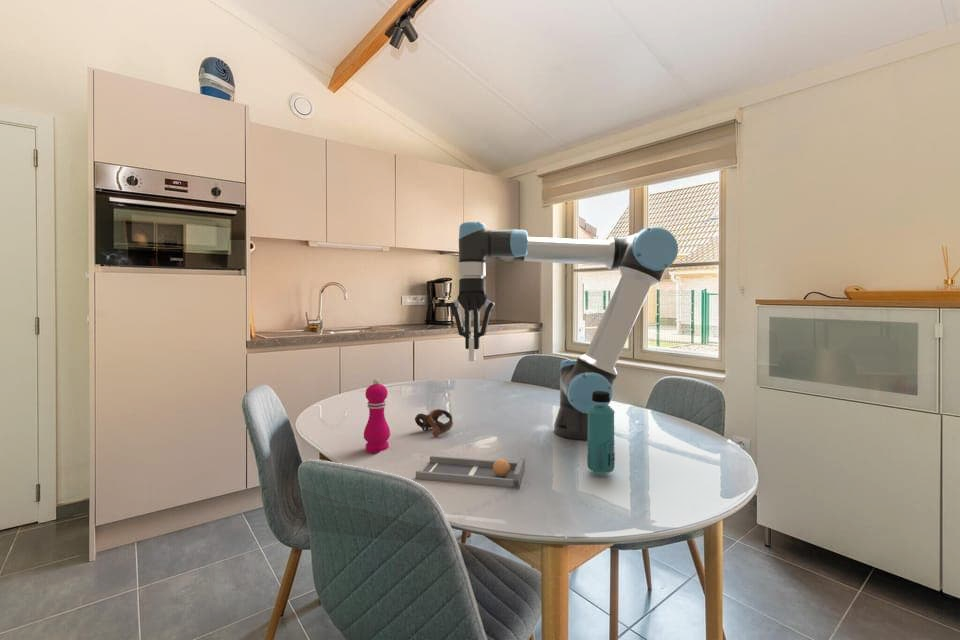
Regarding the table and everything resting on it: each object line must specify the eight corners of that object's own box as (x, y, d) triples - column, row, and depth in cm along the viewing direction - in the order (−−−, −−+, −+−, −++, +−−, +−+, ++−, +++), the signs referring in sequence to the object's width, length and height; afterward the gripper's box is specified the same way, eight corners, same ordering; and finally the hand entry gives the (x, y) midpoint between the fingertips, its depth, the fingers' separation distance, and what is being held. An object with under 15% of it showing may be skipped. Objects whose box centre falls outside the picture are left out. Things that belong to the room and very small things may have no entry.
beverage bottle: (610, 482, 103) (611, 395, 102) (582, 475, 107) (583, 392, 106) (617, 472, 109) (619, 390, 108) (591, 467, 112) (592, 387, 111)
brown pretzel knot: (449, 428, 148) (456, 409, 144) (447, 449, 139) (453, 430, 135) (414, 420, 146) (419, 401, 142) (409, 441, 138) (414, 421, 134)
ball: (508, 475, 107) (513, 459, 106) (505, 482, 103) (511, 466, 102) (492, 469, 107) (497, 453, 107) (489, 475, 104) (494, 460, 103)
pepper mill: (367, 455, 120) (366, 382, 119) (361, 447, 127) (360, 377, 126) (393, 451, 124) (392, 379, 123) (386, 444, 130) (385, 375, 129)
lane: (524, 471, 110) (524, 456, 109) (518, 490, 99) (519, 474, 99) (430, 463, 115) (430, 449, 114) (415, 480, 104) (415, 465, 104)
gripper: (497, 278, 130) (497, 359, 131) (453, 278, 132) (453, 358, 134) (492, 277, 122) (492, 363, 123) (446, 277, 125) (446, 361, 126)
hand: (472, 360), depth 128 cm, fingers closed
